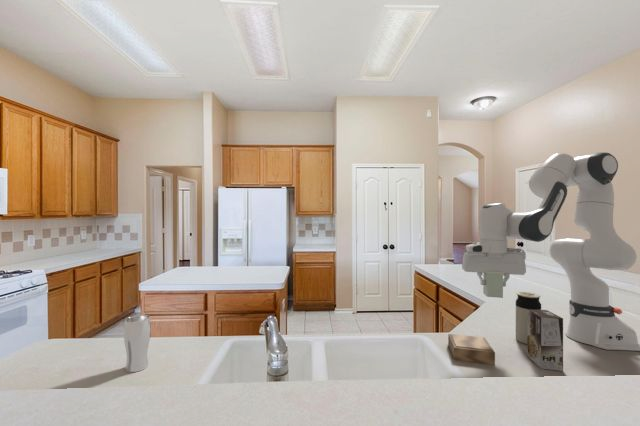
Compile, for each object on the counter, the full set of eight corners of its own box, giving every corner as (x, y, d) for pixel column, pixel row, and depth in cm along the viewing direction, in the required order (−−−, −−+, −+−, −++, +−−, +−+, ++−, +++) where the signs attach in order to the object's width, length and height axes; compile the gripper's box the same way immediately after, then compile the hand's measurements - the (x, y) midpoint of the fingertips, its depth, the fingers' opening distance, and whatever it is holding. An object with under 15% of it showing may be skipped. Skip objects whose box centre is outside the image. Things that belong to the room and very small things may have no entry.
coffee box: (564, 371, 90) (564, 318, 90) (540, 369, 91) (540, 317, 92) (547, 357, 99) (547, 309, 99) (526, 355, 100) (526, 308, 101)
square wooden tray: (484, 348, 105) (484, 336, 105) (494, 365, 94) (494, 351, 94) (448, 344, 108) (448, 333, 108) (454, 359, 97) (454, 346, 97)
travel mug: (520, 344, 109) (519, 295, 110) (512, 336, 117) (512, 290, 117) (545, 347, 107) (545, 297, 107) (536, 338, 115) (536, 292, 115)
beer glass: (131, 362, 93) (132, 314, 93) (154, 361, 94) (155, 314, 94) (118, 373, 86) (119, 322, 86) (142, 373, 87) (143, 322, 87)
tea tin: (498, 294, 109) (498, 269, 109) (503, 298, 104) (503, 272, 104) (482, 293, 110) (483, 268, 110) (486, 296, 105) (486, 271, 105)
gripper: (522, 247, 108) (522, 285, 107) (461, 245, 113) (460, 281, 113) (529, 249, 102) (529, 289, 101) (464, 247, 107) (464, 285, 107)
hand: (492, 285), depth 107 cm, fingers closed on tea tin, 5 cm apart
